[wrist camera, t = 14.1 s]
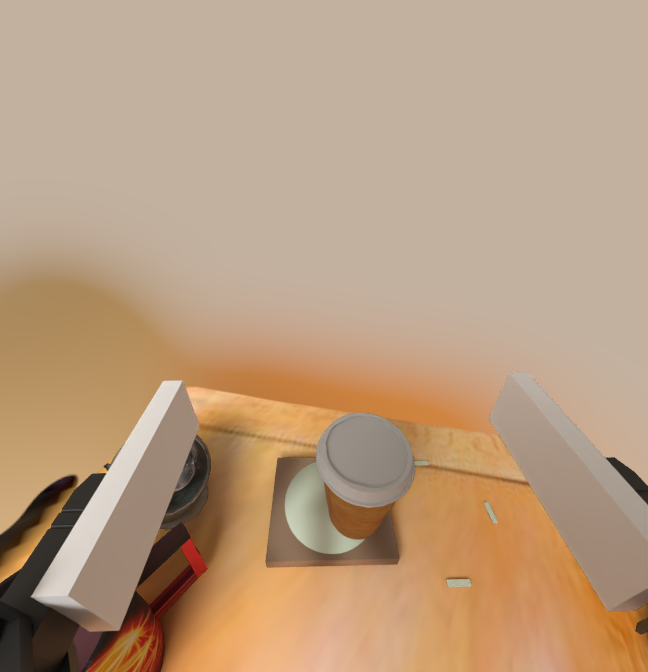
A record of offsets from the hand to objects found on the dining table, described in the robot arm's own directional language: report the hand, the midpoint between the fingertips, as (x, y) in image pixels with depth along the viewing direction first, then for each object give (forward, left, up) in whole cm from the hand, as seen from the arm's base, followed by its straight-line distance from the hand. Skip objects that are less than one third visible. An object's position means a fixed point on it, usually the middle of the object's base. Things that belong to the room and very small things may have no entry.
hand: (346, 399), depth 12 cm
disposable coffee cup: (-4, -9, -27) cm, 29 cm away
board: (-1, -10, -29) cm, 31 cm away
